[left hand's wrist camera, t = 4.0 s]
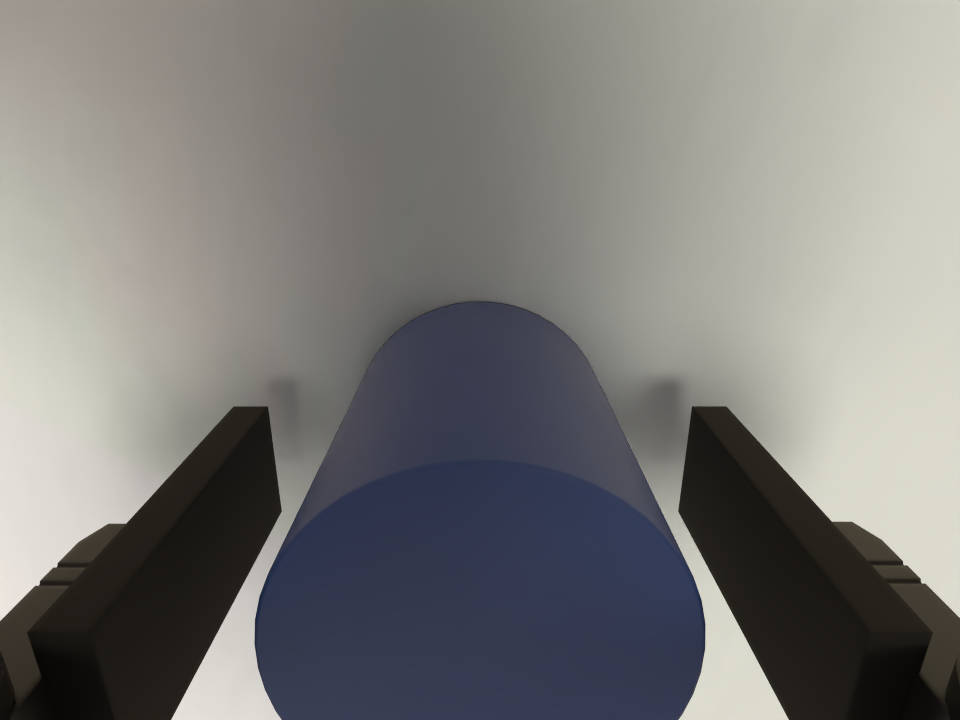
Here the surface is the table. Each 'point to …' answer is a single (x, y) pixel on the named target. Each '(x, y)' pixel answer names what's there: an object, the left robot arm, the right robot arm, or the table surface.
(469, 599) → the can
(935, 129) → the table surface
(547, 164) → the table surface
